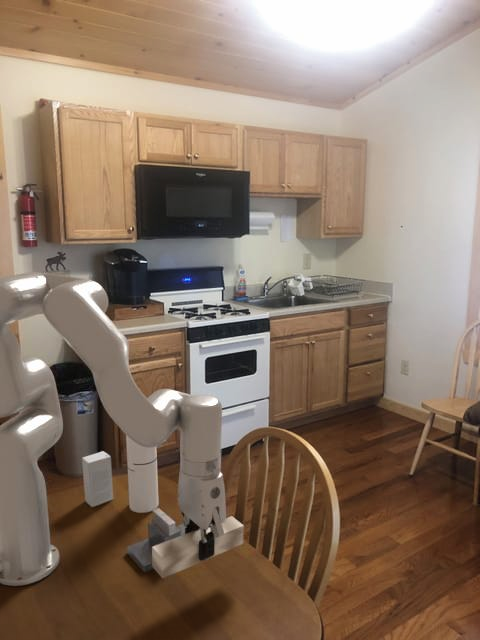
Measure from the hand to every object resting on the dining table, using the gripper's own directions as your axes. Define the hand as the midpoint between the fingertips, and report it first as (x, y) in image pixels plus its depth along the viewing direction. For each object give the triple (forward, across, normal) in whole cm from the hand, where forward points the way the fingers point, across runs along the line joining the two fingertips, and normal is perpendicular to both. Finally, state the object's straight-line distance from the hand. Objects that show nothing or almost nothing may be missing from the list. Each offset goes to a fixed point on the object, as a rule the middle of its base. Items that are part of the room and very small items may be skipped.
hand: (199, 550), depth 100 cm
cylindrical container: (+9, +33, -6) cm, 35 cm away
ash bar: (+1, 0, 0) cm, 1 cm away
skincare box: (+9, +42, +2) cm, 43 cm away
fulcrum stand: (+8, +14, -1) cm, 17 cm away
